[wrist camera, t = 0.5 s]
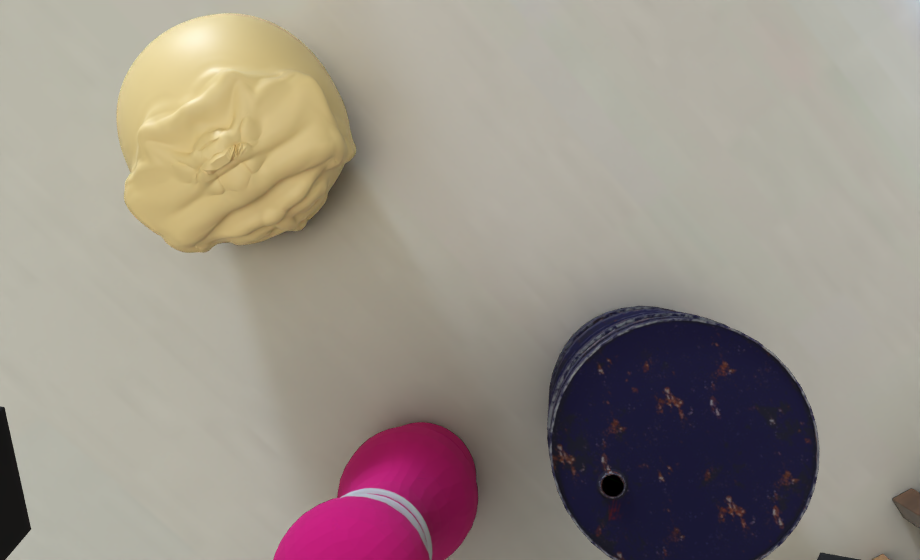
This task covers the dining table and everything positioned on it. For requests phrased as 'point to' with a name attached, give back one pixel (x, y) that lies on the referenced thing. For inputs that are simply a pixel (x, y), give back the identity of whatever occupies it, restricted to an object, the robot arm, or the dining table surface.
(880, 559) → the blue toy chair
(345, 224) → the dining table surface
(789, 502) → the dark blue barrel
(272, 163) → the sculpture
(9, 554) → the robot arm
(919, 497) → the little table
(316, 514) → the pepper mill
